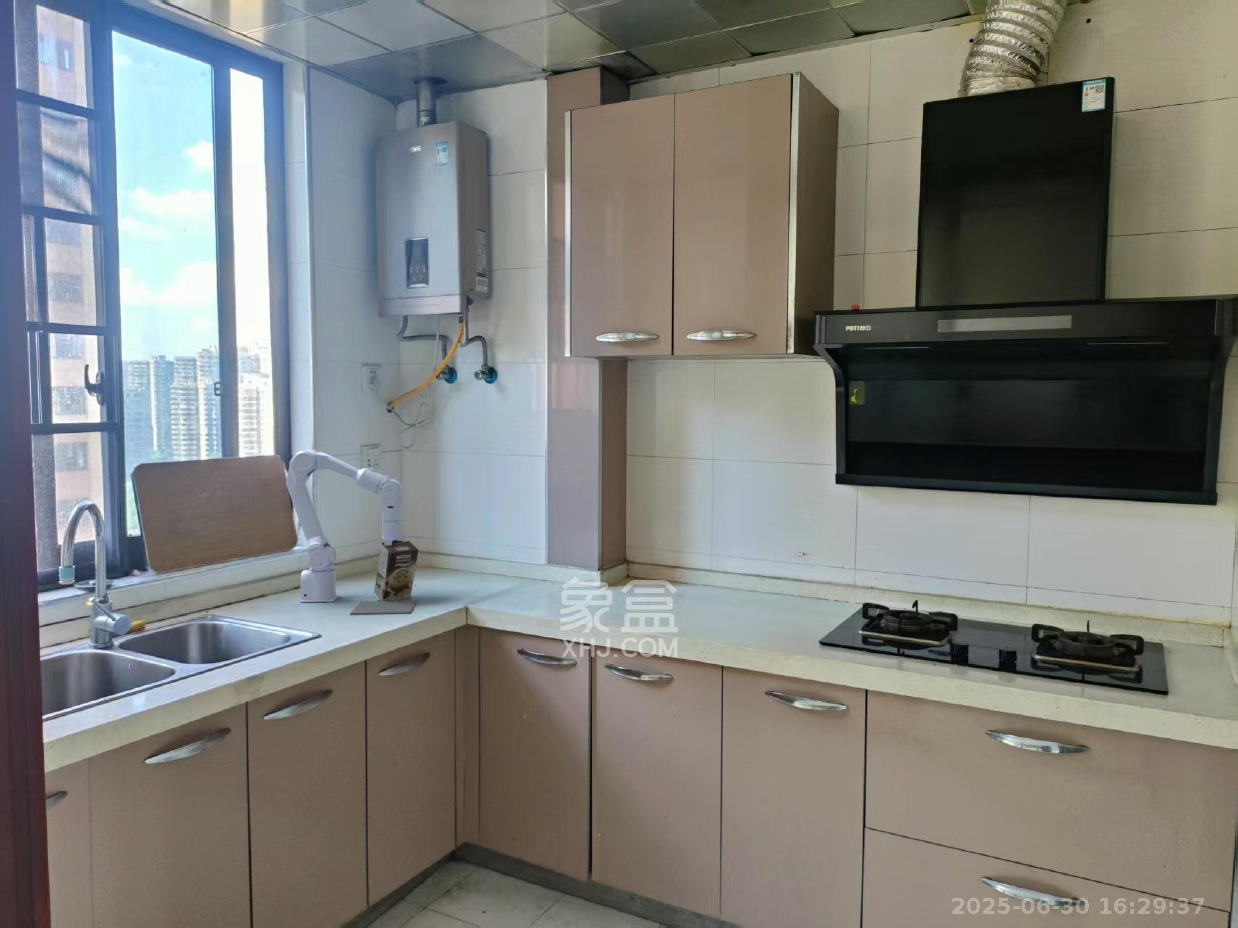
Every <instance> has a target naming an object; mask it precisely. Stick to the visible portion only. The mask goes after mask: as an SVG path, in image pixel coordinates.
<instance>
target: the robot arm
mask: <svg viewBox="0 0 1238 928" xmlns="http://www.w3.org/2000/svg"><path fill="white" fill-rule="evenodd" d="M288 467H289V468H288V471H287V476H286V480H285V485H286V488H287V490H288V493H289V496H290V498H291V501H292V504H293V506H294V510H295V512H296V515H297V519H298V520H299V523H300V527H301V529H302V532H303V533H304V538H305V539H306V550H307V563H308V565H309V568H308V569H303V570H302V572H301V574H300V603H317V602H318V603H321V602H322V603H323V602H324V603H326V602H327V603H328V602H329V603H331V602H335V601H336V600H337V599H338V598H339V597H340V596H341V594H339V593H337V585H336V584H337V583H336V581H337V579H336V578H337V577H336V566H335V565H334V562H335V561H336V558H337V551H336V549H335V548H334V547H333V546H332V544H331V543H330V542H329V539H328V537H327V536H326V535H325V533H324V531H323V528H322V525H321V523H320V520H319V517H318V515H317V512H316V509H315V506H314V504H313V501H312V498H311V495H310V493H309V491H308V488H307V487H308V486H307V482H308V480H309V478H310V477H311V475H312V474H313V473H314V472H316V471H319V470H320V471H321V470H331V471H333V472H335V473H338V474H341V475H343V476H345V477H348V478H350V479H353V480H354V481H355V483H356V486H358V487H361V488H363V489H364V490H367V491H370V492H372V493H373V494H376V495H380V497H381V501H382V502H381V503H382V504H381V537H380V538H381V540H383V542H381V544H385V546H388V545H390V546H391V545H392V543H396V542H404V541H403V540H401V539H405V538H406V537H407V534H403V508H402V507H403V505H402V496H401V494H402V492H403V484H402V483H401V482H400V481H399V480H397V478H390V475H388V474H387V475H383V474H381V473H379V472H377V471H375V469H374V468H373V467H369V468H368V467H364V468H361V469H360V468H356V466H352V465H351V464H348V463H347V462H345V461H342V460H340V459H338V458H337V457H334V456H332V455H330V454H327V453H325V452H322V451H319V452H318V451H317V450H315V449H313V448H311V449H309V448H308V449H305V450H299V451H297V452H296V453H295V454H294V455H293V457H292V458H291V459H290V460H289V465H288Z"/></svg>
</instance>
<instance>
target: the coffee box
mask: <svg viewBox="0 0 1238 928" xmlns="http://www.w3.org/2000/svg"><path fill="white" fill-rule="evenodd" d="M380 546H381V547H380V551H379V558H378V559H379V560H378V563H377V565H378V566H377V571H376V576H375V577H376V578H375V584H374V590H373V593H374V594H375V596H376V597H378V599H379V601H403V600H408V599H411V598H412V591H413V585H414V581H415V573H416V567H417V561H418V555H419V549H418V548H417V547H416V546H415V545H414V544H413V543H412V542H411V541H410V540H408V541H403V542H396V543H392V545H391V546H390V545H388V546H385V544H382V543H381V545H380Z"/></svg>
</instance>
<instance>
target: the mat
mask: <svg viewBox="0 0 1238 928" xmlns="http://www.w3.org/2000/svg"><path fill="white" fill-rule="evenodd" d="M417 604H418V600H395V601H381V600H379V601H378V600H377V601H376V600H374V601H372V600H371V601H368V600H367V601H360V602H359V603H358V604H357V605H356V606H355V607H354V608H353V610H352V611H350V613H349V615H350V616H353V615H354V616H359V615H362V616H363V615H365V616H368V615H409V614H410V615H411V614H412V611H413V610H414V608H415V606H416V605H417Z"/></svg>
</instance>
